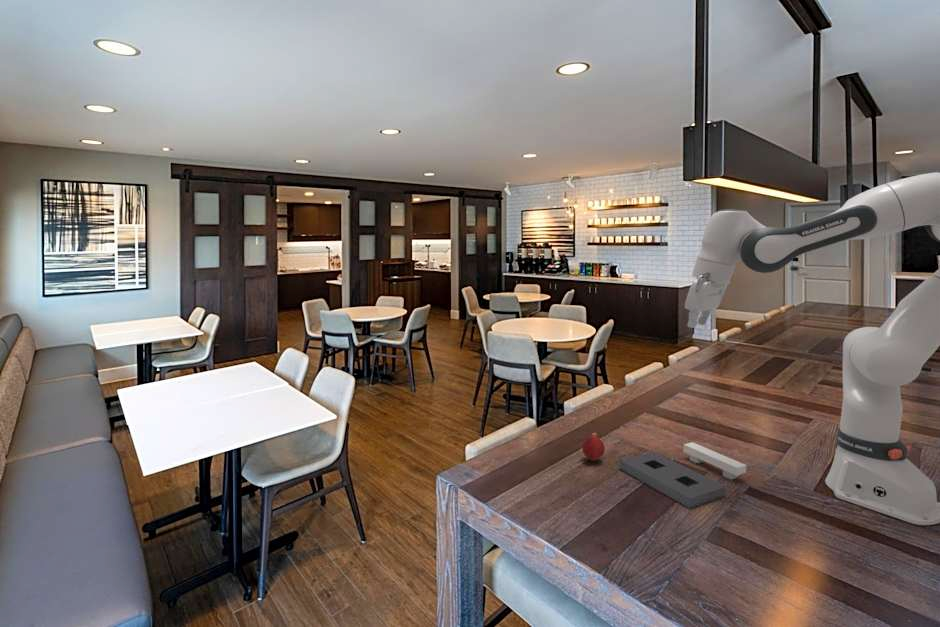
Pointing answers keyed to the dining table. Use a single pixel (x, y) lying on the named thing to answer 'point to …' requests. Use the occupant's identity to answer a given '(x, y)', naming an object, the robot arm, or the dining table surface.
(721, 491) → the plate
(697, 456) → the strip
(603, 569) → the dining table surface
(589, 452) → the onion
